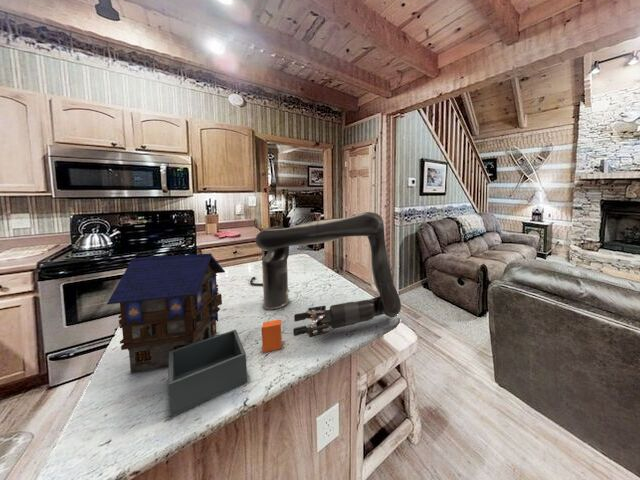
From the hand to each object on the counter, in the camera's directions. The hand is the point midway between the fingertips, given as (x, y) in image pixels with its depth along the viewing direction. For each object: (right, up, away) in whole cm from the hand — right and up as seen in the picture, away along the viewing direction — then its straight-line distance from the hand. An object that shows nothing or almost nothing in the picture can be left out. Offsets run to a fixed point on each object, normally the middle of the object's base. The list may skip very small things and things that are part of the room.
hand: (293, 324), depth 81 cm
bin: (-15, -7, -15) cm, 23 cm away
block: (-6, -6, -2) cm, 9 cm away
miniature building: (-33, -6, -4) cm, 34 cm away
